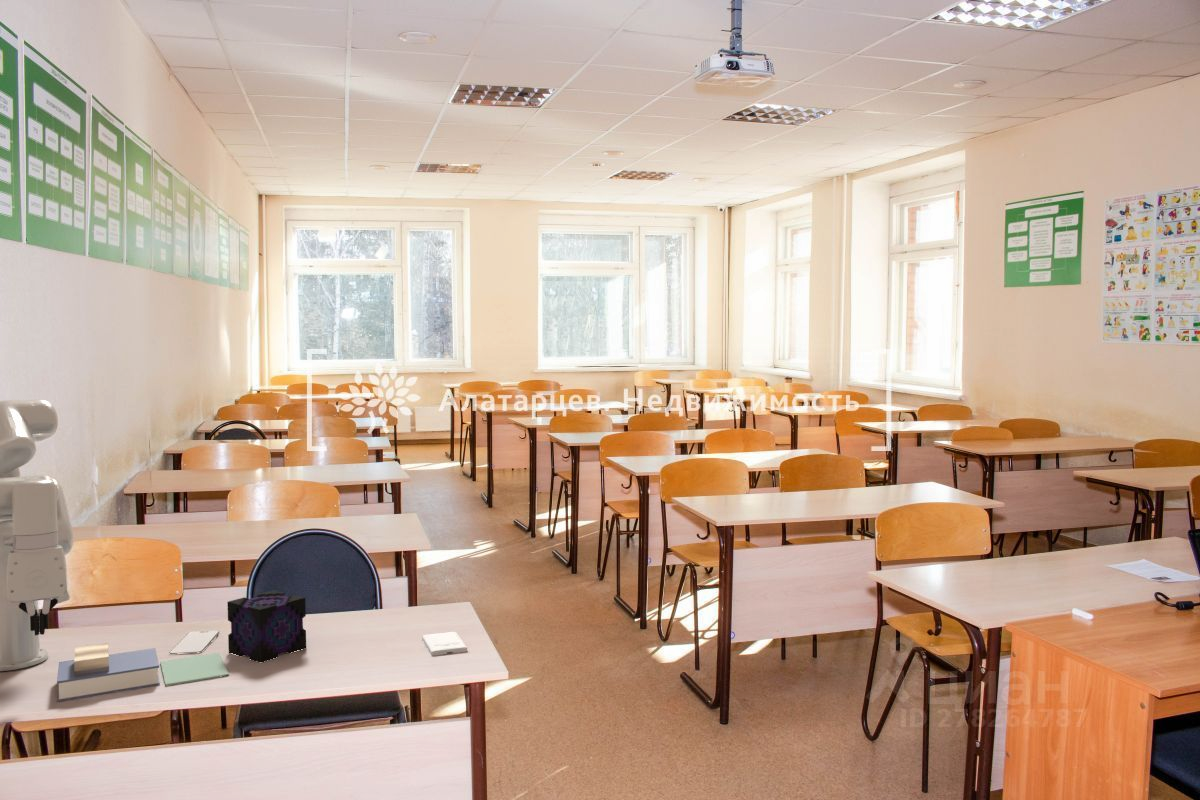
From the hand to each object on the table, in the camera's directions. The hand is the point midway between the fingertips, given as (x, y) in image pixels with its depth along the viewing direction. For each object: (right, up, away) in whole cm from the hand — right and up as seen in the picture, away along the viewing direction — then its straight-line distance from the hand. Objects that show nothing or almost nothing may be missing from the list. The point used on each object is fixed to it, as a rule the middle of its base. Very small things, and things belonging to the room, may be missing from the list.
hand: (39, 633), depth 178 cm
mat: (+24, -12, +15) cm, 31 cm away
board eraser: (+7, -7, +5) cm, 11 cm away
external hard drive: (+75, -11, +30) cm, 82 cm away
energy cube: (+35, -11, +27) cm, 46 cm away
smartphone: (+16, -12, +32) cm, 38 cm away
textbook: (+10, -12, +7) cm, 17 cm away
